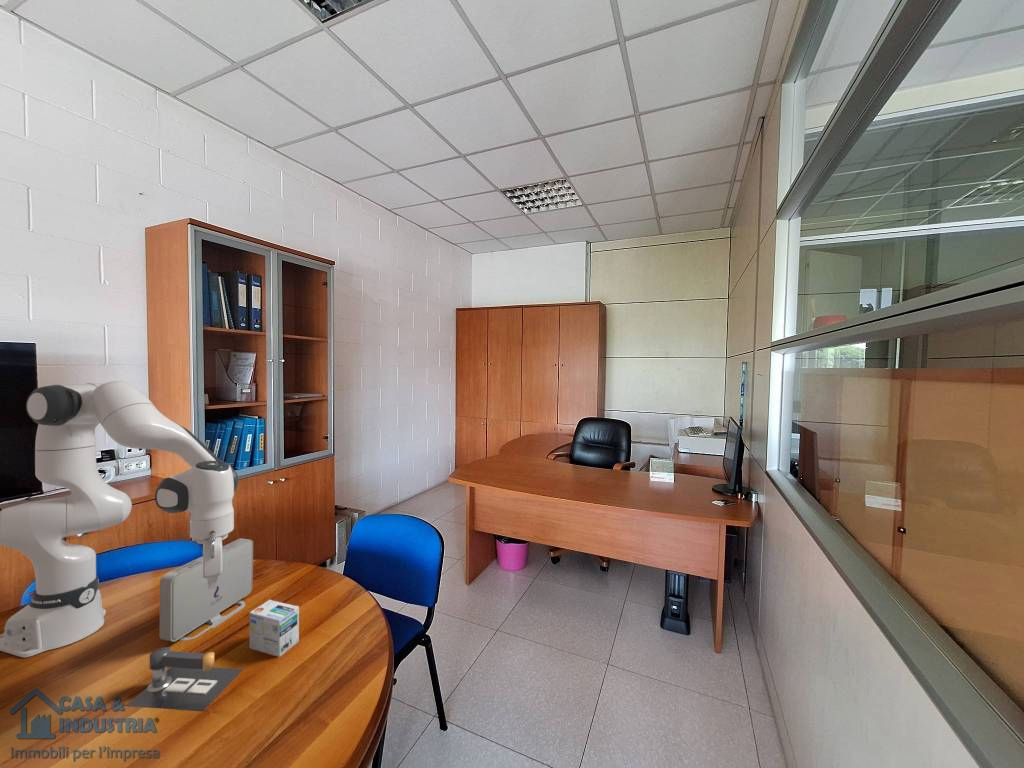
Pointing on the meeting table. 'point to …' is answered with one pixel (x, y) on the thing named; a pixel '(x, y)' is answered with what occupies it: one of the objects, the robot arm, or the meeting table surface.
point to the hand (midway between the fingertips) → (212, 579)
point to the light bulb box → (274, 627)
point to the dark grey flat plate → (187, 699)
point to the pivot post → (159, 680)
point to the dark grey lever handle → (181, 659)
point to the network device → (204, 592)
